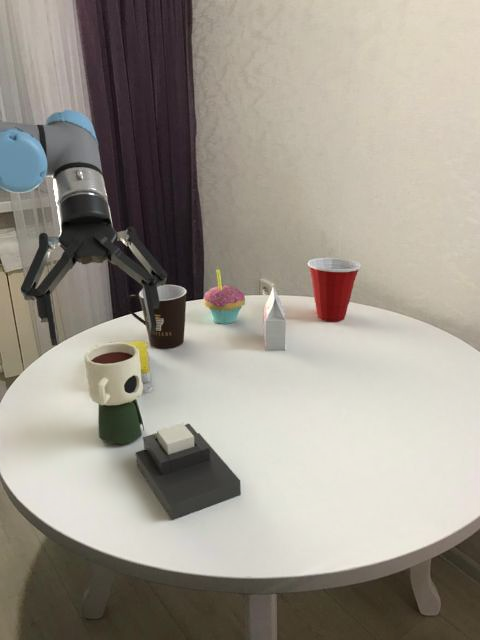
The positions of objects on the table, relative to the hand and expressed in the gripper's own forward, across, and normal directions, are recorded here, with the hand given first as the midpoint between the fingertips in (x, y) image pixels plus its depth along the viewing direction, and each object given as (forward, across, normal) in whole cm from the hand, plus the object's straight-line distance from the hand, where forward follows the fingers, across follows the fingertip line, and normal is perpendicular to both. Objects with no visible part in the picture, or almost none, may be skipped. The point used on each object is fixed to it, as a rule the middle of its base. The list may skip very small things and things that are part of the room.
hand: (105, 335), depth 82 cm
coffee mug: (-8, +12, +27) cm, 31 cm away
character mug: (+13, 0, +6) cm, 15 cm away
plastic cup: (-8, +48, +27) cm, 55 cm away
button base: (+22, +7, -4) cm, 24 cm away
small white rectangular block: (+18, +6, -4) cm, 19 cm away
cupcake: (-12, +26, +31) cm, 43 cm away
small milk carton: (-2, +32, +21) cm, 38 cm away
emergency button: (0, +3, +19) cm, 19 cm away
